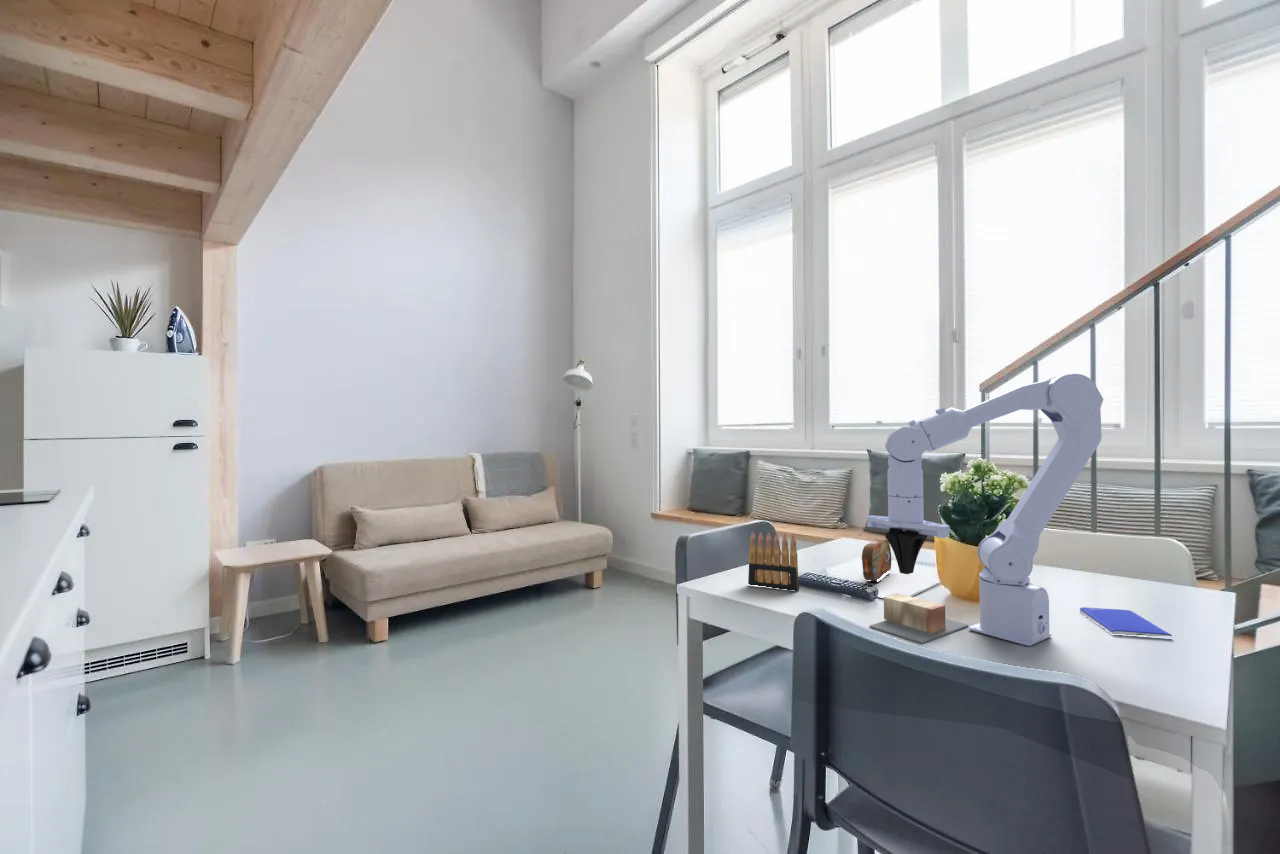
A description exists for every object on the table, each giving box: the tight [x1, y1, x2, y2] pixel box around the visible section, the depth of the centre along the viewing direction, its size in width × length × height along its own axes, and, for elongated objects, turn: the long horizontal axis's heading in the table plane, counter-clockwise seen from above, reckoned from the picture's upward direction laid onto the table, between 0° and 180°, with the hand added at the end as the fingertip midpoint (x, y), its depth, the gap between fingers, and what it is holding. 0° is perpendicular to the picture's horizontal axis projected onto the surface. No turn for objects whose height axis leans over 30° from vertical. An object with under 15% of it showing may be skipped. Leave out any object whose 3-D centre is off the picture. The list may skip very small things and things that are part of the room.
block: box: [883, 592, 946, 634], centre depth 104 cm, size 4×4×9 cm
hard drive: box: [1079, 606, 1173, 637], centre depth 102 cm, size 2×8×12 cm
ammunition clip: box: [747, 531, 800, 592], centre depth 129 cm, size 11×2×12 cm, turn 65°
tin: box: [861, 538, 892, 583], centre depth 136 cm, size 15×3×8 cm, turn 143°
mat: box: [869, 618, 969, 645], centre depth 103 cm, size 10×14×1 cm
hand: (906, 572), depth 105 cm, fingers closed
